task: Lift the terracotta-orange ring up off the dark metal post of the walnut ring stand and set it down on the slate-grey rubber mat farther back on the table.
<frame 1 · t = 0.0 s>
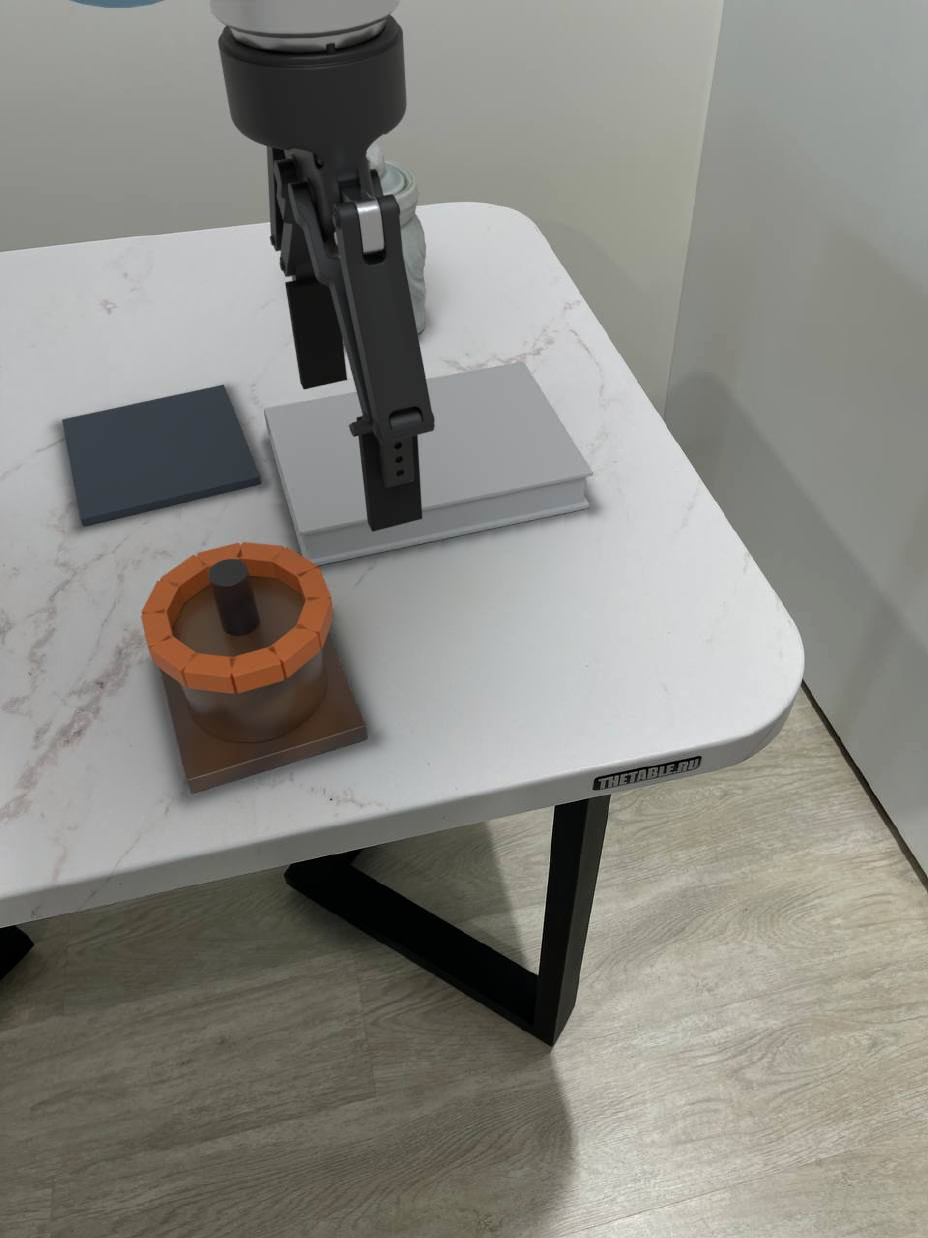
hand: (356, 446, 56), 21 cm above the table, tool pointing down, fingers open, 13 cm apart
ring stand: (260, 700, 71), on the table
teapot: (361, 311, 107), on the table
ring: (240, 622, 65), point 8 cm above the table, touching ring stand
mat: (159, 454, 90), on the table
book: (422, 472, 88), on the table
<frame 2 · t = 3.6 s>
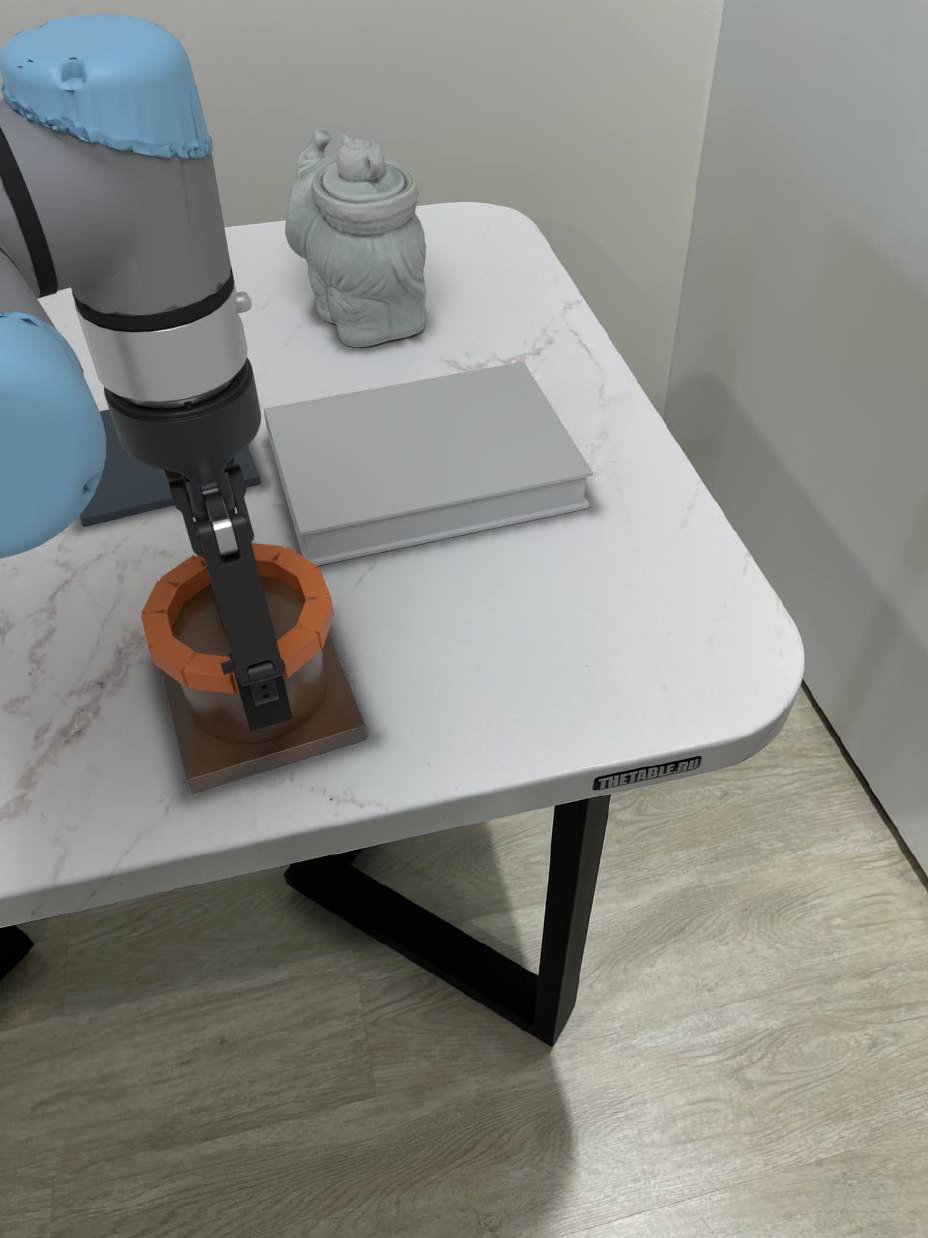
hand: (248, 652, 67), 5 cm above the table, tool pointing down, fingers closed on ring, 12 cm apart
ring: (240, 622, 65), point 8 cm above the table, touching gripper, ring stand
everything else where it was.
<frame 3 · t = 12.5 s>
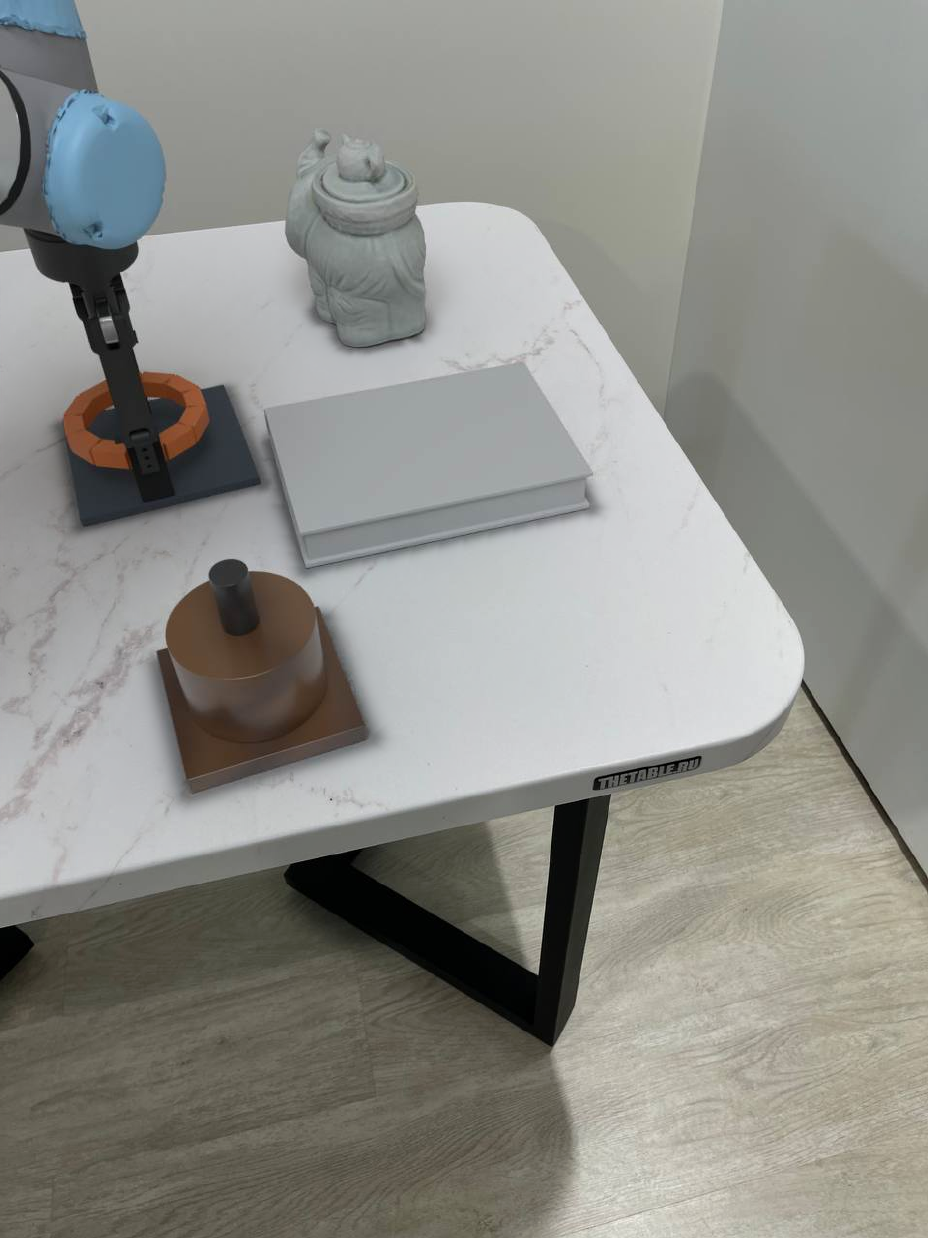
hand: (147, 453, 89), 1 cm above the table, tool pointing down, fingers closed on ring, 12 cm apart
ring: (139, 426, 87), point 4 cm above the table, touching gripper
everything else where it was.
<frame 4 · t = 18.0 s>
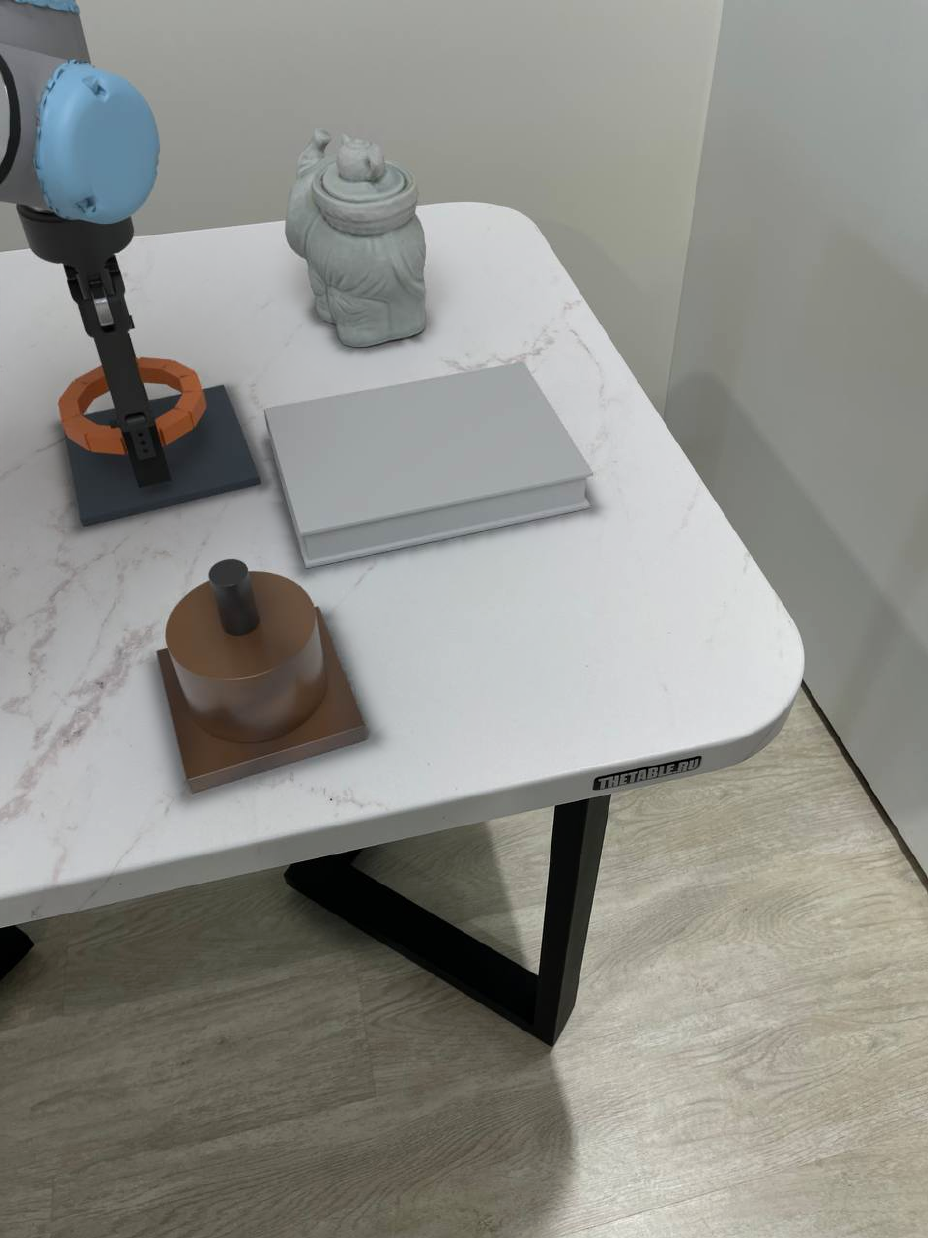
hand: (143, 440, 88), 2 cm above the table, tool pointing down, fingers closed on ring, 11 cm apart
ring: (135, 411, 86), point 5 cm above the table, touching gripper
everything else where it was.
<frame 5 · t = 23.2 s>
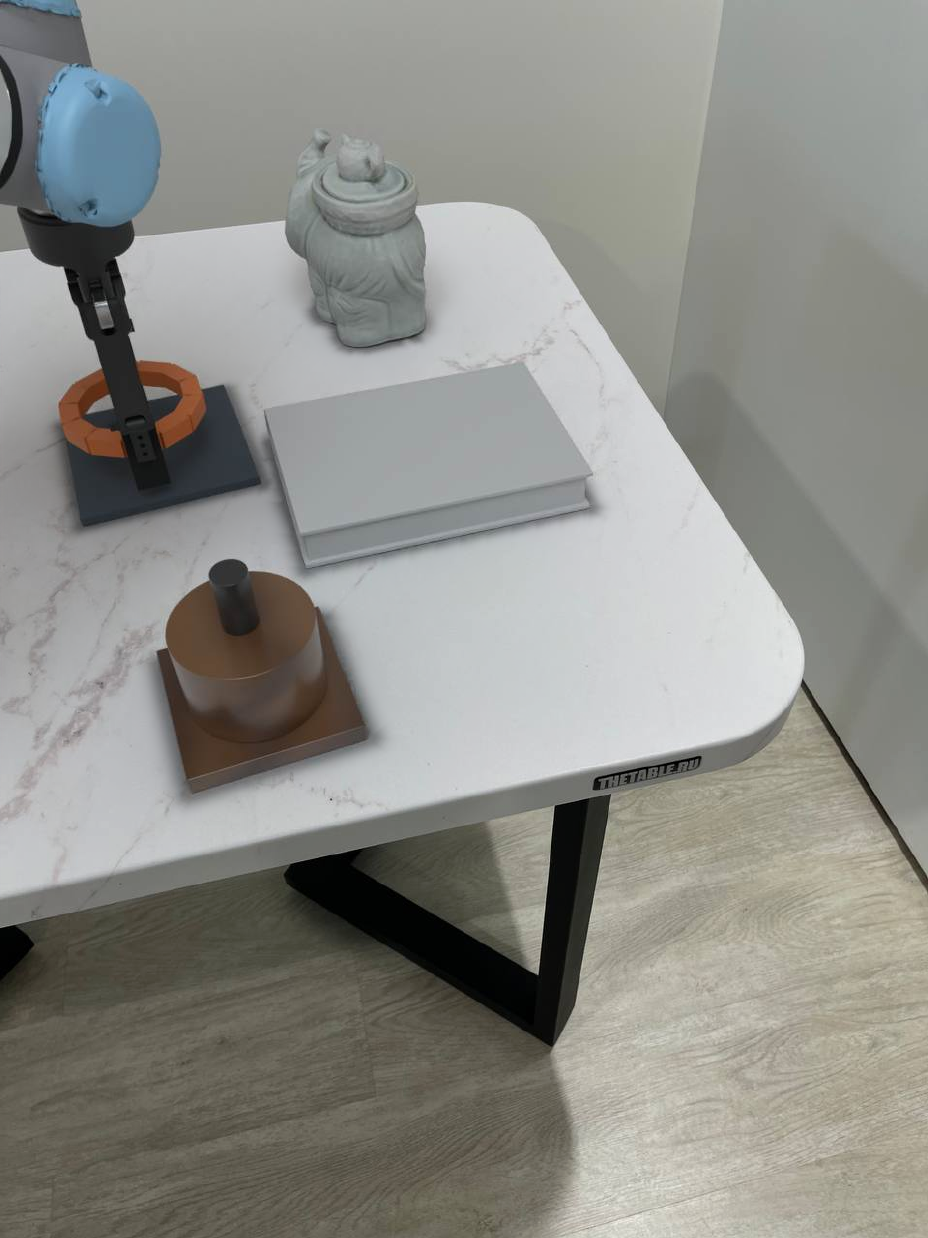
hand: (143, 443, 88), 2 cm above the table, tool pointing down, fingers closed on ring, 11 cm apart
ring: (135, 414, 86), point 5 cm above the table, touching gripper
everything else where it was.
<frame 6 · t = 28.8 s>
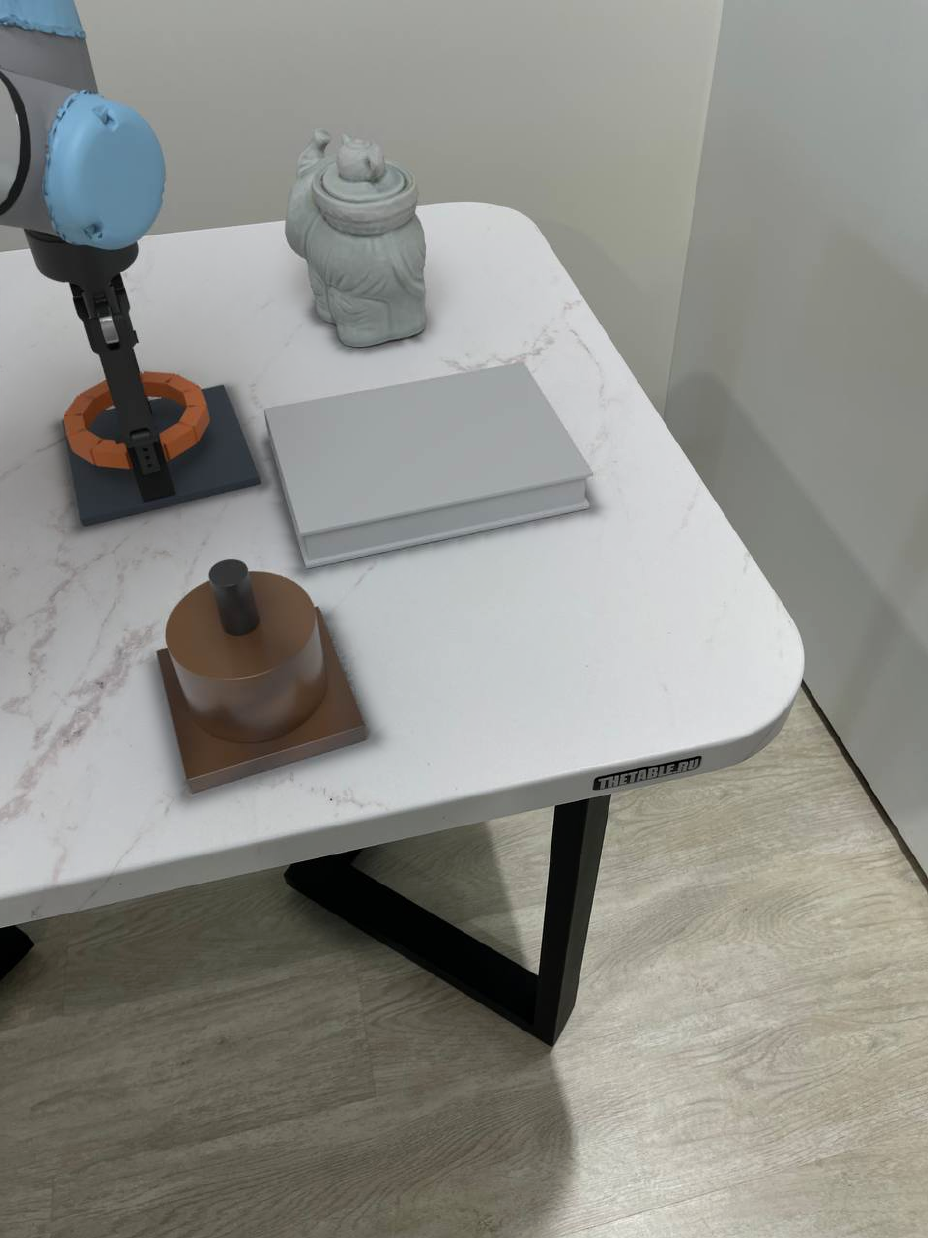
hand: (147, 453, 89), 1 cm above the table, tool pointing down, fingers closed on ring, 11 cm apart
ring: (139, 425, 87), point 4 cm above the table, touching gripper
everything else where it was.
when the fingers open (3 cm above the table, at t = 33.8 s): ring drops 5 cm, resting on mat.
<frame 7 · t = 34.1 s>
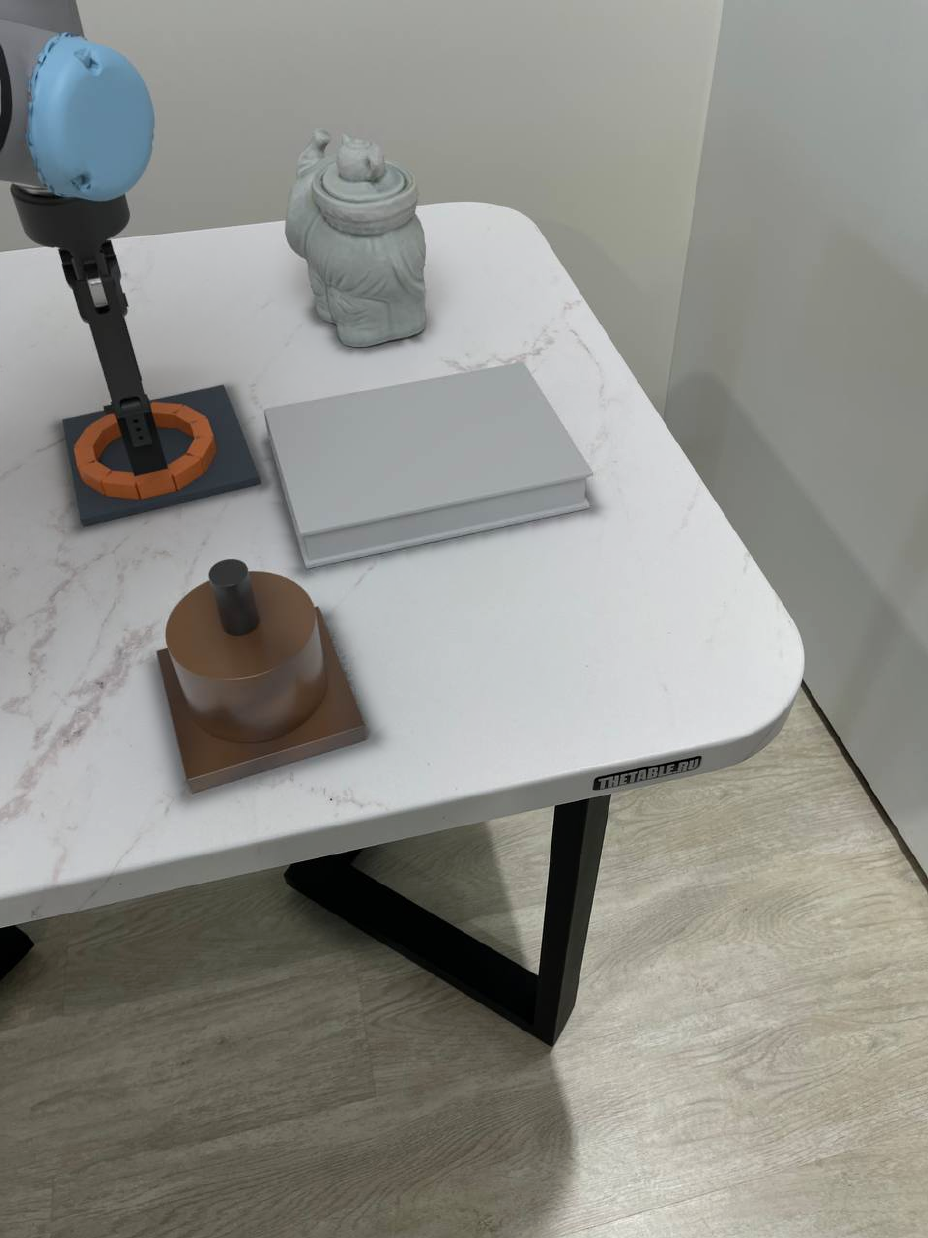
hand: (138, 423, 86), 4 cm above the table, tool pointing down, fingers open, 13 cm apart
ring: (148, 456, 89), point 1 cm above the table, touching mat
everything else where it was.
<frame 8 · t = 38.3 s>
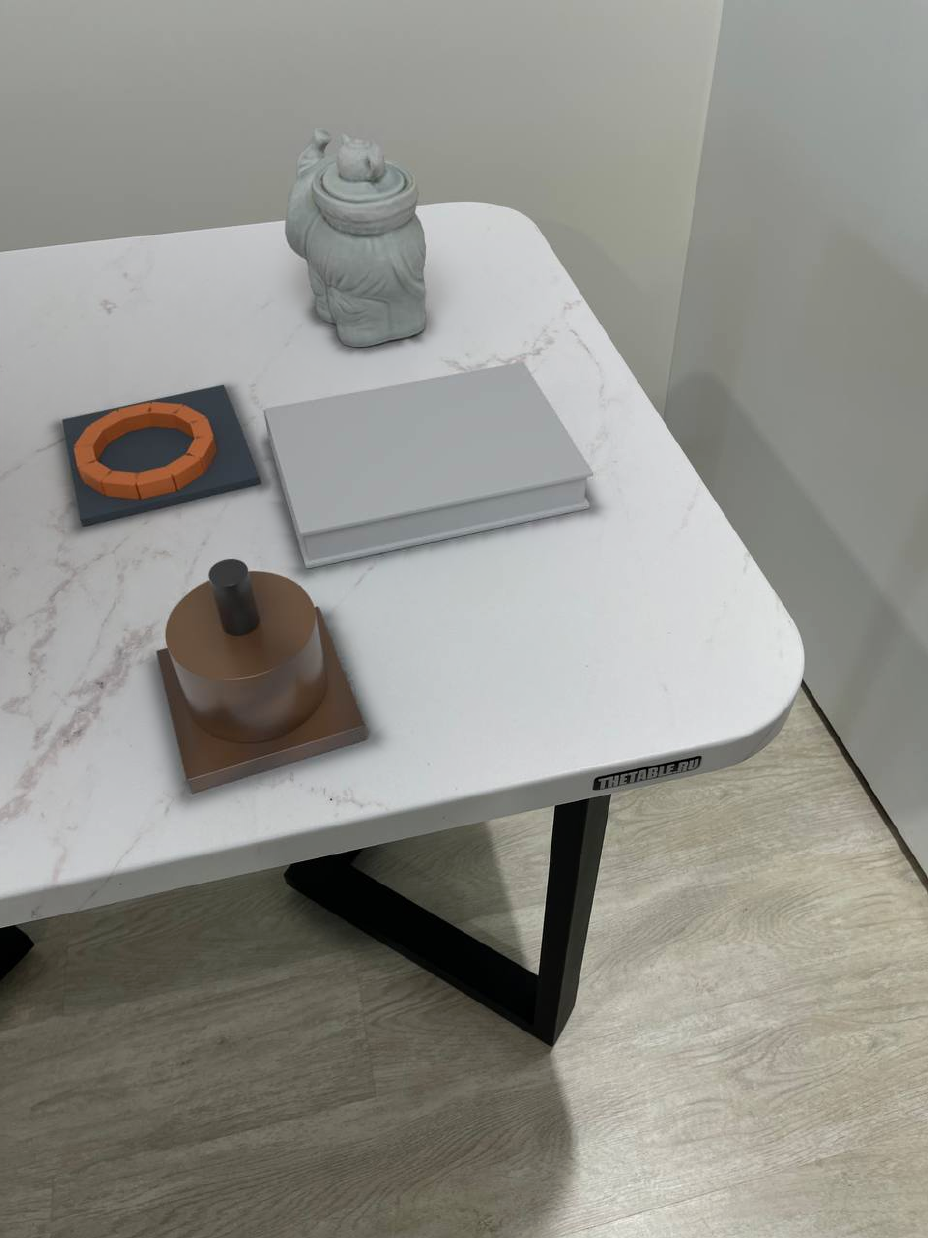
nothing on the table moved.
at the end: ring inside the target area on the mat (1.5 cm from its centre), point 0.8 cm above the mat's base; ring touching mat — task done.
